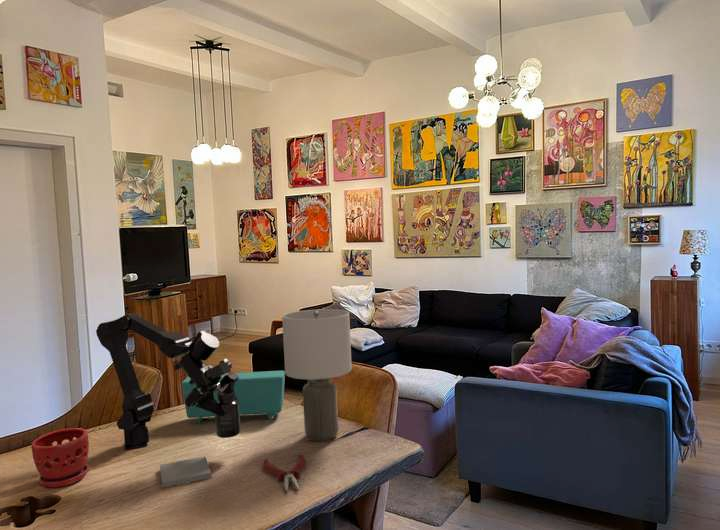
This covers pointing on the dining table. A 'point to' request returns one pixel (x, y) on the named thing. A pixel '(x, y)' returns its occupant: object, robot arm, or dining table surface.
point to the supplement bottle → (228, 415)
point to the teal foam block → (247, 394)
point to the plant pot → (61, 456)
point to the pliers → (284, 475)
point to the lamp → (318, 364)
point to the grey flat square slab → (185, 471)
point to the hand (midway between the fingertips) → (231, 411)
